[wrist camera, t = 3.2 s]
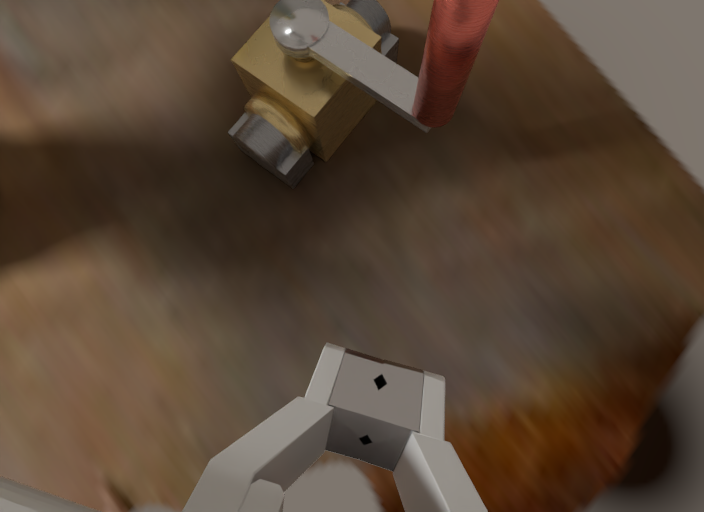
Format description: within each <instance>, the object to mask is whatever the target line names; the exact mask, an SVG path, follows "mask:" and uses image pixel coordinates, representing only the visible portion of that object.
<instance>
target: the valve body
mask: <svg viewBox="0 0 704 512" xmlns="http://www.w3.org/2000/svg"><path fill="white" fill-rule="evenodd" d="M321 1H322V2H323V3H324V4H325V6H326V8H327V10H328V14H329V21H331V22H332V23H334V24H335V25H337V26H338V27H340V28H342V29H343V30H345V31H346V32H348V33H349V34H351V35H352V36H354V37H356V38H357V39H359V40H360V41H362V42H363V43H365V44H366V45H368V46H370V47H371V48H373V49H374V50H376V51H377V52H379V53H381V54H382V55H384V56H385V57H387V58H388V59H390V60H391V61H393V62H395V63H397V53H398V43H399V38H397V37H396V36H394V35H393V34H391V25H390V21H389V18H388V16H387V14H386V12H385V11H384V9H383V8H382V6H381V5H380V4H379V3H378V2H377V1H376V0H350V1H349V2H348V4H347V5H345V4H343V3H342V2H341V3H340V4H336V5H333V6H332V5H330V4H329V3H327V2H325V1H324V0H321ZM231 61H232V62H233V64H234V66H235V68H236V70H237V72H238V74H239V76H240V78H241V80H242V81H243V83H244V85H245V87H246V89H247V91H248V93H249V95H250V97H251V99H250V100H249V101H248V102H247V104H246V105H245V106H244V111H245V113H244V114H243V115H242V117H241V118H240V119H239V120H238V121H237V122H236V123H235V125H234V126H233V127H232V128H231V129H230V130H229V131H228V134H229V135H230V136H231V138H232V139H233V140H234V142H235V143H236V144H237V146H238V147H239V149H240V150H241V151H243V152H244V153H245V154H247V155H248V156H249V157H251V158H252V159H253V160H255V161H256V162H257V163H258V164H260V165H261V166H262V167H264V168H265V169H267V170H268V171H270V172H271V173H272V174H274V175H275V176H276V177H278V178H279V179H280V180H282V181H283V182H285V183H286V184H287V185H289V186H290V187H291V188H293V189H294V188H295V187H296V185H297V184H298V183H299V182H300V180H301V179H302V178H303V177H304V176H305V174H306V173H307V172H308V171H309V170H310V168H311V167H312V166H313V165H314V162H313V160H312V157H311V154H310V151H311V152H313V153H314V154H315V155H317V156H318V157H320V158H321V159H322V160H324V161H325V162H327V161H328V160H329V158H330V157H331V156H332V155H333V153H334V152H335V151H336V150H337V149H338V147H339V146H340V145H341V144H342V142H343V141H344V140H345V139H346V138H347V136H348V135H349V134H350V133H351V131H352V130H353V129H354V128H355V127H356V125H357V124H358V123H359V122H360V120H361V119H362V118H363V117H364V116H365V114H366V113H367V112H368V111H369V109H370V108H371V107H372V106H373V105H374V103H375V102H376V101H377V100H376V99H374V98H373V97H371V96H370V95H368V94H367V93H365V92H364V91H362V90H361V89H359V88H358V87H356V86H355V85H353V84H352V83H350V82H349V81H347V80H346V79H344V78H343V77H341V76H340V75H338V74H337V73H335V72H334V71H332V70H331V69H329V68H328V67H326V66H325V65H323V64H322V63H320V62H319V61H317V60H316V59H314V58H313V57H311V56H310V57H306V58H295V57H291V56H288V55H286V54H285V53H283V52H282V51H281V50H280V49H279V48H278V46H277V45H276V42H275V40H274V37H273V34H272V31H271V28H270V16H269V17H268V19H267V20H266V21H265V22H264V23H263V24H262V25H261V26H260V27H259V29H258V30H257V31H256V32H255V33H254V34H253V35H252V36H251V38H250V39H249V40H248V41H247V42H246V43H245V44H244V45H243V46H242V48H241V49H240V50H239V51H238V52H237V53H236V54H235V55H234V57H233V58H232V59H231ZM309 150H310V151H309Z"/></svg>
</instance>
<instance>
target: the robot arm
mask: <svg viewBox="0 0 704 512" xmlns="http://www.w3.org/2000/svg"><path fill="white" fill-rule="evenodd" d="M444 426H445V378H444V376H440V375H437V374H433V373H430V372H427V371H423V370H421V369H417V368H414V367H410V366H406V365H403V364H399V363H395V362H392V361H388V360H382V359H379V358H376V357H373V356H369V355H366V354H363V353H360V352H357V351H354V350H350V349H347V348H344V347H340V346H337V345H334V344H330V343H326V345H325V346H324V348H323V351H322V353H321V356H320V358H319V361H318V364H317V366H316V369H315V371H314V374H313V377H312V379H311V382H310V384H309V387H308V390H307V392H306V395H305V397H304V398H303V397H299V396H298V397H297V398H295V399H294V400H293V401H291V402H290V403H288V404H287V405H286V406H284V407H283V408H282V409H280V410H279V411H277V412H276V413H275V414H273V415H272V416H270V417H269V418H268V419H266V420H265V421H263V422H262V423H261V424H259V425H258V426H256V427H255V428H254V429H252V430H251V431H250V432H248V433H247V434H245V435H244V436H243V437H241V438H240V439H238V440H237V441H236V442H234V443H233V444H231V445H230V446H229V447H227V448H226V449H225V450H223V451H222V452H220V453H219V454H218V455H216V456H215V457H213V458H212V459H211V460H210V461H209V463H208V465H207V467H206V469H205V471H204V472H203V474H202V476H201V478H200V480H199V482H198V483H197V485H196V487H195V489H194V491H193V493H192V494H191V496H190V498H189V500H188V502H187V504H186V505H185V507H184V509H183V511H182V512H283V503H284V495H285V494H284V492H285V491H286V490H287V489H288V488H289V487H290V486H291V485H292V484H293V483H294V482H295V481H296V480H297V479H298V478H299V477H300V476H301V475H302V474H303V473H304V472H305V471H306V470H307V469H308V468H309V467H310V466H311V465H312V464H313V463H314V462H315V461H316V460H317V459H318V458H319V457H320V456H321V455H322V454H323V453H324V451H325V450H327V451H331V452H334V453H338V454H341V455H345V456H348V457H352V458H355V459H358V460H361V461H364V462H367V463H370V464H373V465H376V466H379V467H382V468H384V469H387V470H390V471H393V476H394V479H395V482H396V485H397V488H398V491H399V494H400V497H401V500H402V503H403V506H404V509H405V512H488V511H487V509H486V507H485V506H484V504H483V502H482V500H481V498H480V496H479V495H478V493H477V491H476V489H475V487H474V485H473V483H472V482H471V480H470V478H469V476H468V474H467V472H466V470H465V469H464V467H463V465H462V463H461V461H460V459H459V457H458V456H457V454H456V452H455V450H454V448H453V446H452V445H451V443H450V442H447V441H444ZM0 512H101V511H98V510H95V509H92V508H90V507H87V506H84V505H81V504H78V503H76V502H73V501H70V500H67V499H64V498H61V497H59V496H56V495H53V494H50V493H47V492H45V491H42V490H39V489H36V488H33V487H31V486H28V485H25V484H22V483H19V482H17V481H14V480H11V479H8V478H5V477H3V476H0Z"/></svg>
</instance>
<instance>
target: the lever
mask: <svg viewBox="0 0 704 512" xmlns="http://www.w3.org/2000/svg"><path fill="white" fill-rule="evenodd" d="M498 2H499V0H434V2H433V7H432V12H431V18H430V23H429V28H428V33H427V38H426V43H425V48H424V53H423V58H422V63H421V68H420V73H419V78H418V77H416V76H415V75H413V74H412V73H410V72H409V71H407V70H405V69H404V68H402V67H401V66H399V65H398V64H396V63H395V62H393V61H391V60H390V59H388V58H387V57H385V56H384V55H382V54H381V53H379V52H377V51H376V50H374V49H373V48H371V47H370V46H368V45H366V44H365V43H363V42H362V41H360V40H359V39H357V38H356V37H354V36H352V35H351V34H349V33H348V32H346V31H345V30H343V29H342V28H340V27H338V26H337V25H335V24H334V23H332V22H331V21H329V14H328V10H327V8H326V6H325V4H324V3H323V2H322V1H321V0H280V1H279V2H278V3H277V4H276V5H275V6H274V8H273V10H272V12H271V14H270V28H271V31H272V34H273V37H274V40H275V42H276V45H277V46H278V48H279V49H280V50H281V51H282V52H283V53H285V54H286V55H288V56H291V57H295V58H306V57H310V56H311V57H313V58H314V59H316V60H317V61H319V62H320V63H322V64H323V65H325V66H326V67H328V68H329V69H331V70H332V71H334V72H335V73H337V74H338V75H340V76H341V77H343V78H344V79H346V80H347V81H349V82H350V83H352V84H353V85H355V86H356V87H358V88H359V89H361V90H362V91H364V92H365V93H367V94H368V95H370V96H371V97H373V98H374V99H376V100H377V101H379V102H381V103H382V104H384V105H385V106H387V107H388V108H390V109H391V110H393V111H394V112H396V113H397V114H399V115H400V116H402V117H403V118H405V119H406V120H408V121H409V122H411V123H412V124H414V125H415V126H417V127H418V128H420V129H421V130H423V131H424V132H426V133H428V131H429V130H430V129H431V128H432V127H440V126H443V125H445V124H446V123H448V122H449V121H450V120H451V118H452V117H453V114H454V112H455V109H456V107H457V104H458V102H459V99H460V97H461V94H462V92H463V89H464V87H465V84H466V82H467V79H468V77H469V74H470V72H471V69H472V67H473V64H474V62H475V59H476V57H477V54H478V52H479V49H480V47H481V44H482V42H483V39H484V37H485V34H486V32H487V29H488V27H489V24H490V22H491V19H492V17H493V14H494V12H495V9H496V7H497V4H498Z"/></svg>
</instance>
